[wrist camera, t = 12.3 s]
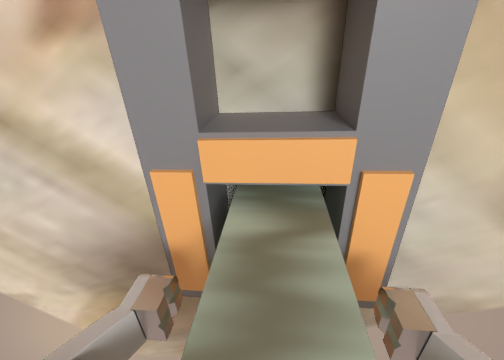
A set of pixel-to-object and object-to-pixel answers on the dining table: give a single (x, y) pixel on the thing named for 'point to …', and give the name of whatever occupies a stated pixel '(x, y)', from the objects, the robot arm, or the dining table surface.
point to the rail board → (287, 127)
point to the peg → (278, 284)
